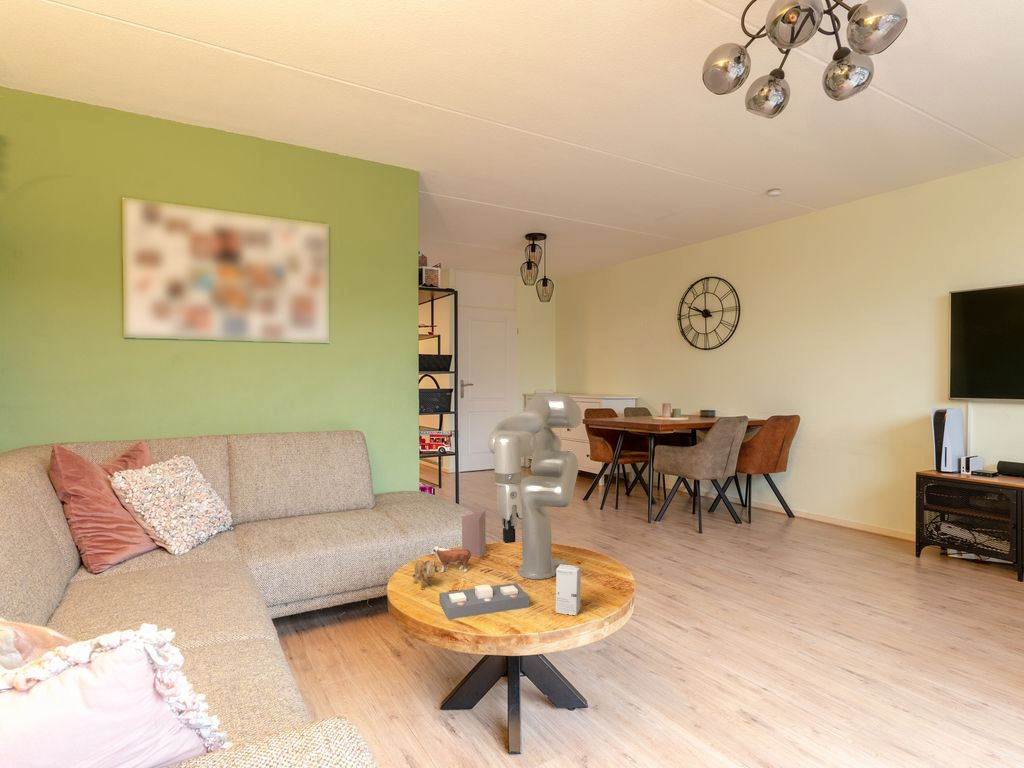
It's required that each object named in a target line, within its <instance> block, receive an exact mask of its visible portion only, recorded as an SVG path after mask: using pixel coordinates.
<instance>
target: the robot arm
mask: <svg viewBox="0 0 1024 768" xmlns="http://www.w3.org/2000/svg"><path fill="white" fill-rule="evenodd" d="M582 418H583V415H582V409H581V407H580V405H579V404H578V403H577V402H576V401H575V399H573V397H572V396H570V395H569V394H567V393H561V392H558V393H557V392H556V393H555V392H553V393H552V392H551V393H550V392H544V393H543V392H542V393H538V394H534V396H533V397H531V398H530V400H529V402H528V403H527V404H526V406H525V407H524V409H522V411H520V412H518V413H515V414H514V415H511V416H509V417H506V418H504V419H502V420H501V421H499V422H497V425H495V427H494V428H493V430H492V431H491V433H490V435H489V438H488V449H489V451H490V452H491V454H493V456H494V484H495V485H497V487H496V510H497V511H496V512H497V513H498V514H499V515H498V516H500V517H501V520H502V521H501V523H502V542H504V543H505V544H513V543H516V540H517V539H516V528H517V527H516V526H518V519H519V520H521V531H522V532H521V534H522V535H521V541H522V542H521V545H522V547H521V548H522V549H521V550H522V552H521V553H522V565H521V566H519V567H518V568H517V574H518V575H519V576H520V577H522V578H524V577H525V579H529V578H530V580H546V579H550V578H552V576H553V577H554V576H556V575H555V574H556V569H557V568H558V566H559V565H560V564H563V565H567V562H566V559H564V558H563V559H560V558H557V557H556V558H553V557H552V556H553V555H552V518H551V515H550V513H549V511H548V509H547V508H546V507H550V508H567V507H568V506H570V504H571V502H572V500H573V496H574V491H575V487H576V483H577V477H578V473H579V460H578V457H577V454H575V453H574V452H572V451H567V450H561V449H562V442H561V441H562V440H561V439H560V437H559V436H558V435H557V434H556V432H555V431H553V429H558V428H559V429H576V428H578V427H579V426H580V424H581V422H582ZM532 455H533V456H532ZM530 456H532V459H531V462H530V463H531V464H530V471H531V472H530V473H531V474H532V475H528V476H525V477H522V458H525V457H530ZM549 577H550V578H549ZM545 578H546V579H545Z"/></svg>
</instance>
